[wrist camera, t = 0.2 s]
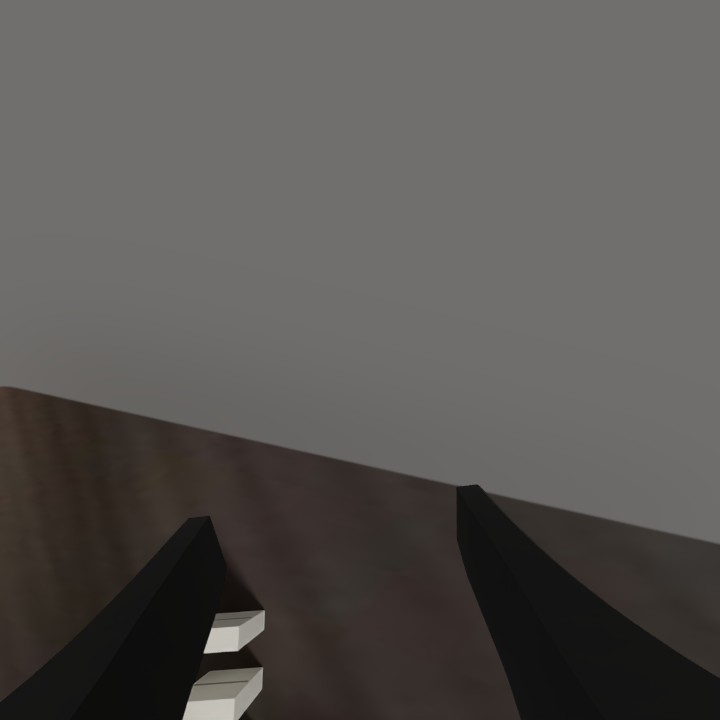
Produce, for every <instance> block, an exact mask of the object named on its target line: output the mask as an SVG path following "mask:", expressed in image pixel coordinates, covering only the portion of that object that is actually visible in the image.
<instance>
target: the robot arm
mask: <svg viewBox="0 0 720 720" xmlns="http://www.w3.org/2000/svg"><path fill="white" fill-rule="evenodd" d="M457 541H458V545H459V549H460V552H461V556H462V559H463V563H464V566H465V570H466V573H467V576H468V579H469V581H470V584H471V586H472V589H473V591H474V594H475V597H476V599H477V602H478V604H479V607H480V609H481V612H482V614H483V617H484V619H485V622H486V624H487V626H488V629H489V631H490V634H491V636H492V639H493V641H494V644H495V646H496V649H497V651H498V654H499V656H500V659H501V661H502V664H503V667H504V669H505V672H506V675H507V678H508V680H509V683H510V686H511V689H512V692H513V696H514V699H515V702H516V705H517V708H518V711H519V715H520V718H521V720H720V678H718V677H716V676H715V675H713V674H712V673H710V672H708V671H707V670H705V669H703V668H702V667H700V666H699V665H697V664H695V663H694V662H692V661H690V660H689V659H687V658H686V657H684V656H683V655H681V654H680V653H678V652H677V651H675V650H674V649H672V648H671V647H669V646H668V645H666V644H665V643H663V642H662V641H660V640H659V639H657V638H656V637H654V636H653V635H651V634H650V633H648V632H647V631H645V630H644V629H642V628H641V627H639V626H638V625H636V624H635V623H634V622H632V621H631V620H629V619H628V618H627V617H625V616H624V615H622V614H621V613H620V612H618V611H617V610H616V609H614V608H613V607H612V606H610V605H609V604H608V603H606V602H605V601H604V600H602V599H601V598H600V597H598V596H597V595H596V594H595V593H593V592H592V591H591V590H589V589H588V588H587V587H586V586H584V585H583V584H582V583H581V582H580V581H578V580H577V579H576V578H575V577H573V576H572V575H571V574H570V573H569V572H567V571H566V570H565V569H564V568H563V567H562V566H561V565H559V564H558V563H557V562H556V561H555V560H554V559H553V558H551V557H550V556H549V555H548V554H547V553H546V552H545V551H544V550H543V549H541V548H540V547H539V546H538V545H537V544H536V543H535V542H534V541H533V540H532V539H531V538H530V537H529V536H528V535H527V534H526V533H525V532H524V531H522V530H521V529H520V528H519V527H518V526H517V525H516V524H515V523H514V522H513V521H512V520H511V519H510V518H509V517H508V516H507V515H506V513H505V512H504V511H503V510H502V509H501V508H500V507H499V506H498V505H497V504H496V503H495V502H494V501H493V500H492V499H491V498H490V497H489V496H488V494H487V493H486V492H485V491H484V490H483V489H482V488H481V487H480V486H479V485H469V486H460V487H457ZM226 567H227V566H226V563H225V560H224V557H223V554H222V551H221V548H220V545H219V542H218V539H217V536H216V533H215V530H214V527H213V524H212V521H211V518H210V516H204V517H195V518H189V519H188V520H187V521H186V522H185V523H184V524H183V525H182V526H181V527H180V528H179V529H178V530H177V531H176V533H175V534H174V535H173V536H172V537H171V538H170V539H169V540H168V541H167V543H166V544H165V545H164V546H163V547H162V548H161V549H160V550H159V551H158V553H157V554H156V555H155V556H154V557H153V558H152V559H151V560H150V561H149V562H148V563H147V565H146V566H145V567H144V568H143V569H142V570H141V571H140V572H139V573H138V574H137V575H136V576H135V578H134V579H133V580H132V581H131V582H130V583H129V584H128V585H127V586H126V587H125V588H124V589H123V590H122V591H121V592H120V593H119V594H118V595H117V596H116V597H115V598H114V599H113V600H112V601H111V602H110V603H109V604H108V605H107V606H106V607H105V608H104V609H103V610H102V611H101V612H100V613H99V614H98V615H97V616H96V617H95V618H94V619H93V620H92V622H91V623H90V624H89V625H87V626H86V627H85V628H84V629H83V630H82V631H81V632H80V633H79V634H78V635H77V636H76V637H75V638H74V639H73V640H72V641H71V642H70V643H68V644H67V645H66V646H65V647H64V648H63V649H62V650H61V651H60V652H59V653H57V654H56V655H55V656H54V657H53V658H52V659H51V660H50V661H48V662H47V663H46V664H45V665H44V666H43V667H42V668H41V669H40V670H38V671H37V672H36V673H35V674H34V675H33V676H31V677H30V678H29V679H28V680H27V681H25V682H24V683H23V684H22V685H21V686H19V687H18V688H17V689H16V690H15V691H13V692H12V693H11V694H10V695H9V696H7V697H6V698H5V699H4V700H3V701H1V702H0V720H183V717H184V713H185V710H186V706H187V703H188V700H189V696H190V693H191V690H192V687H193V684H194V681H195V678H196V675H197V672H198V669H199V666H200V663H201V660H202V656H203V653H204V650H205V647H206V644H207V641H208V638H209V635H210V632H211V629H212V625H213V622H214V619H215V616H216V613H217V610H218V606H219V602H220V598H221V593H222V588H223V583H224V578H225V573H226Z"/></svg>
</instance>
